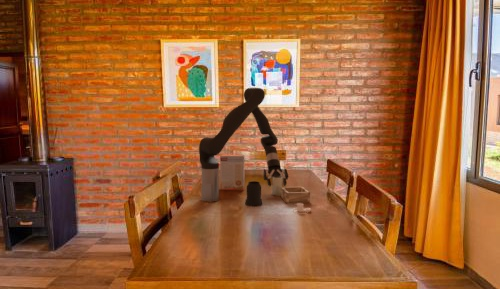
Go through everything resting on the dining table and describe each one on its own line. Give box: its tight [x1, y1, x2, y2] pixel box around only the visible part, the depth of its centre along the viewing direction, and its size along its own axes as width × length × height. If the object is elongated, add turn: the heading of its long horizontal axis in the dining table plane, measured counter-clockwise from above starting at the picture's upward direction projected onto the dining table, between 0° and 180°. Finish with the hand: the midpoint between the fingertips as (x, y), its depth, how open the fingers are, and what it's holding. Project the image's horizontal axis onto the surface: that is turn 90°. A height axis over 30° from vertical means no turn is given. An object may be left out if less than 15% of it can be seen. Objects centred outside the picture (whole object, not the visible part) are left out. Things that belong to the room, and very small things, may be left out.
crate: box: [280, 186, 311, 204], centre depth 172 cm, size 13×12×6 cm
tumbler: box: [271, 176, 283, 196], centre depth 183 cm, size 6×6×10 cm
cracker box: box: [219, 154, 246, 192], centre depth 192 cm, size 14×6×21 cm, turn 84°
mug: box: [244, 180, 263, 208], centre depth 165 cm, size 12×9×11 cm
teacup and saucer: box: [291, 203, 312, 215], centre depth 153 cm, size 9×8×4 cm
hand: (277, 185), depth 182 cm, fingers open, 8 cm apart
